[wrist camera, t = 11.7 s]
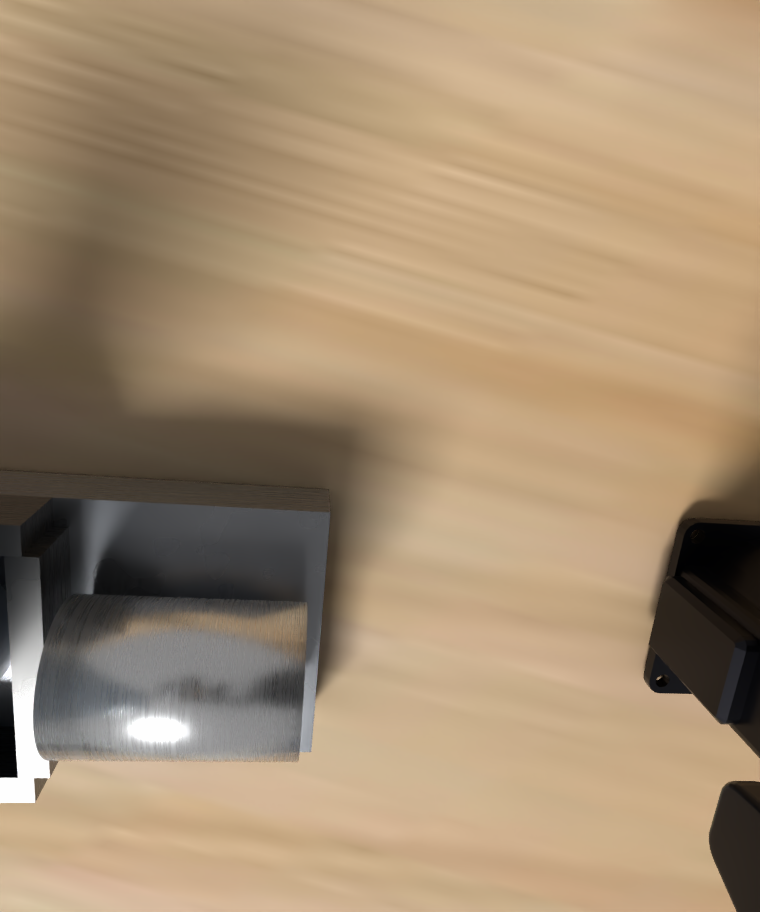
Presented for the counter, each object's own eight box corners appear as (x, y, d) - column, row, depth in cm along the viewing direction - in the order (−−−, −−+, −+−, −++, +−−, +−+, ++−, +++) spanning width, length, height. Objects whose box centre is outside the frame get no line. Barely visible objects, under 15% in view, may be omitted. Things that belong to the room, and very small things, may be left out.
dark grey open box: (328, 489, 20) (335, 577, 14) (311, 710, 22) (311, 864, 16) (-206, 458, 18) (-445, 544, 12) (-169, 702, 20) (-358, 872, 15)
